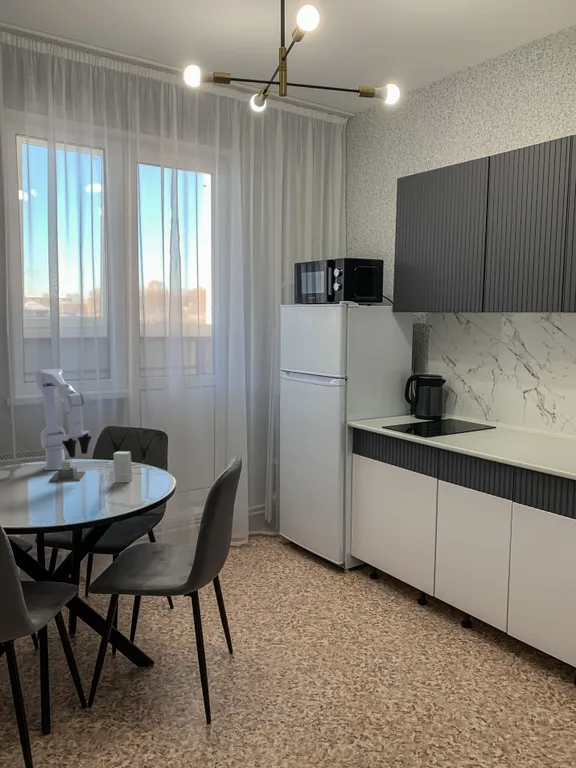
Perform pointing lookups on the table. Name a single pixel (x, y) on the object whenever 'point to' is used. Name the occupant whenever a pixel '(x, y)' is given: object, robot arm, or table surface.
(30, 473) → the table surface
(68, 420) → the robot arm
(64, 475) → the stand base
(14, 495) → the table surface
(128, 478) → the skincare box
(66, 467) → the column
